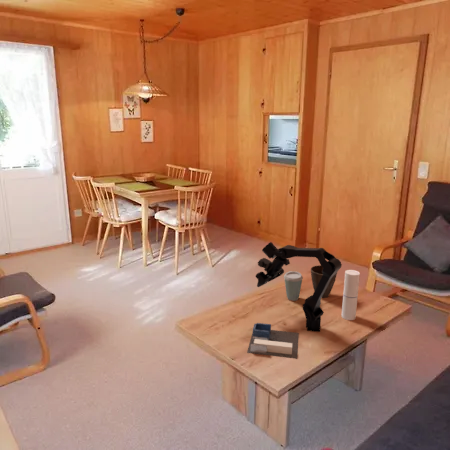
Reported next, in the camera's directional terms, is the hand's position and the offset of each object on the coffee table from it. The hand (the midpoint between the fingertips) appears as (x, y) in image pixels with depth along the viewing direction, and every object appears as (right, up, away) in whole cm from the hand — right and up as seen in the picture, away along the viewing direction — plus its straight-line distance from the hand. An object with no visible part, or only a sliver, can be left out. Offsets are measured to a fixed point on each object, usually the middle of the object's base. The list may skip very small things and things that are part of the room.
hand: (262, 283), depth 220 cm
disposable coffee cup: (+19, -11, +17) cm, 27 cm away
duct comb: (+3, -24, -29) cm, 37 cm away
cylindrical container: (+45, -17, -4) cm, 48 cm away
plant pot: (+37, -10, +21) cm, 44 cm away
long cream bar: (+1, -25, -35) cm, 43 cm away
